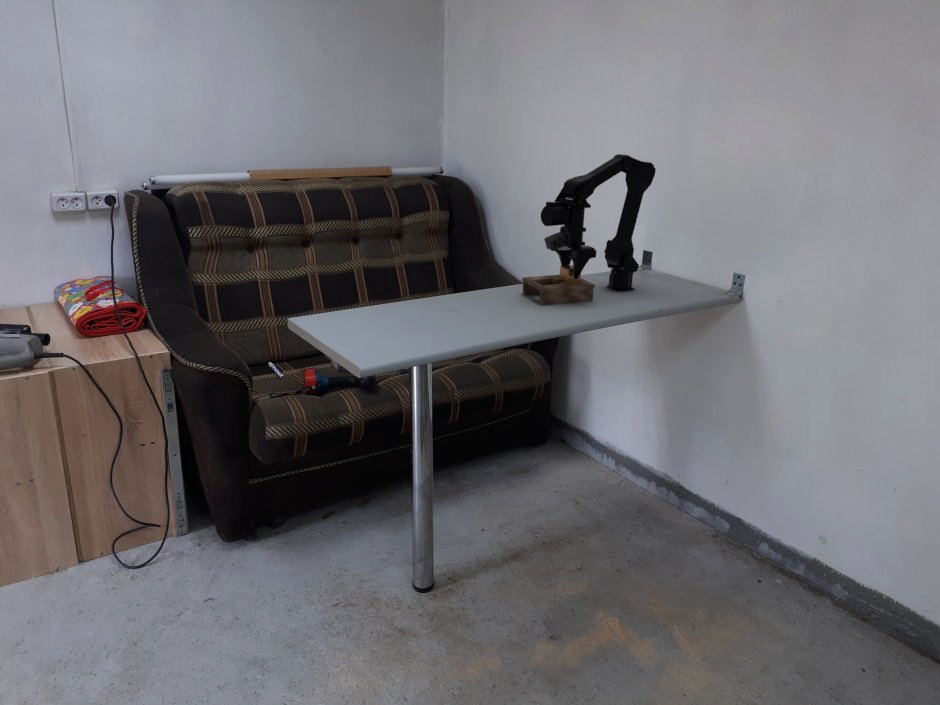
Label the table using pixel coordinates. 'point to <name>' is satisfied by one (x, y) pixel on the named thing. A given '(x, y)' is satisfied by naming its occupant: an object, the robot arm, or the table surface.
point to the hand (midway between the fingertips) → (570, 275)
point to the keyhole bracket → (558, 289)
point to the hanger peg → (568, 274)
